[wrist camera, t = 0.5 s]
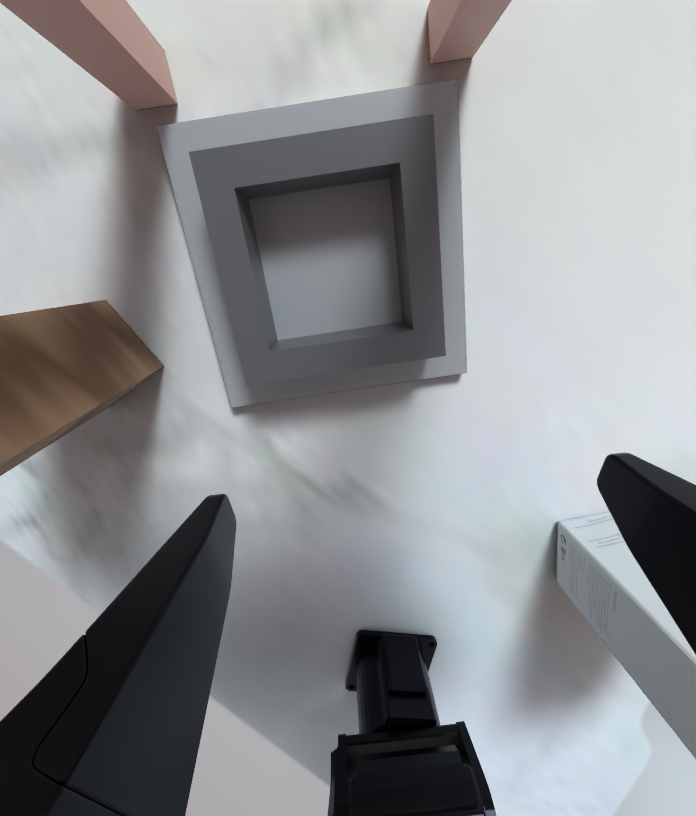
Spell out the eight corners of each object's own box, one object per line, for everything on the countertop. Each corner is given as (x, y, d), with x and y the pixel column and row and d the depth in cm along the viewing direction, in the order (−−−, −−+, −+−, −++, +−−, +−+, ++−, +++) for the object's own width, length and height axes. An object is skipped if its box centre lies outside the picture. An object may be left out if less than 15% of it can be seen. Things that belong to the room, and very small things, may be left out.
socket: (462, 369, 23) (486, 388, 20) (234, 403, 23) (217, 427, 20) (452, 86, 18) (482, 43, 15) (162, 131, 18) (122, 99, 15)
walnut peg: (164, 365, 22) (-38, 486, 10) (108, 407, 23) (-142, 566, 11) (105, 300, 21) (-210, 348, 9) (48, 346, 22) (-316, 450, 9)
